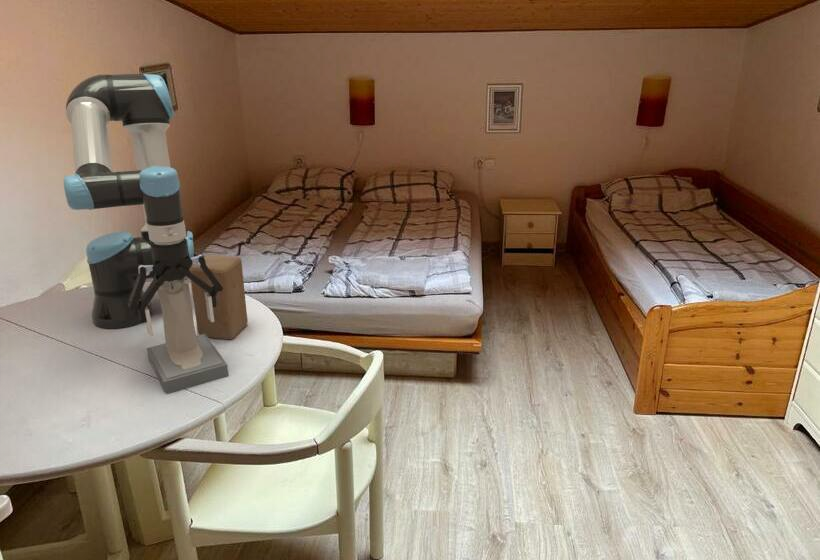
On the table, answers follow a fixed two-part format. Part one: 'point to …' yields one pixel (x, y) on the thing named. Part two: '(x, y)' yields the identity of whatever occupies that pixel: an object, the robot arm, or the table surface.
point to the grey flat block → (184, 378)
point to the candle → (179, 323)
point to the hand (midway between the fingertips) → (181, 327)
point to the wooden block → (221, 298)
